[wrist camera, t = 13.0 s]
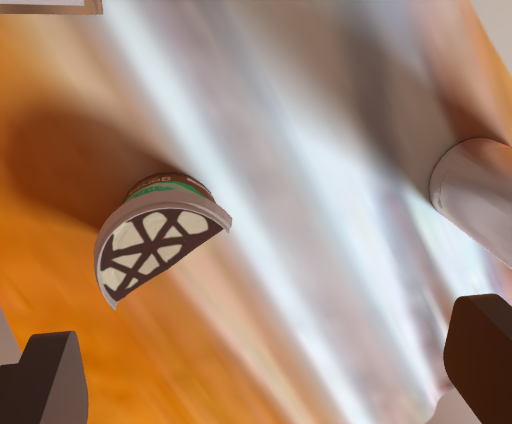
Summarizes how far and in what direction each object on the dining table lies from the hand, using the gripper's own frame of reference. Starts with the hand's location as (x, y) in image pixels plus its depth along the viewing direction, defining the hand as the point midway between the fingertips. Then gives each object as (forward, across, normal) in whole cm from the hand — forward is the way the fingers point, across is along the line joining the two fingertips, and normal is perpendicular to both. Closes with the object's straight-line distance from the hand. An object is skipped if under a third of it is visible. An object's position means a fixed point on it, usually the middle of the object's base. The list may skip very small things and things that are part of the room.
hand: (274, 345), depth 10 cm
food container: (+34, +5, +10) cm, 36 cm away
